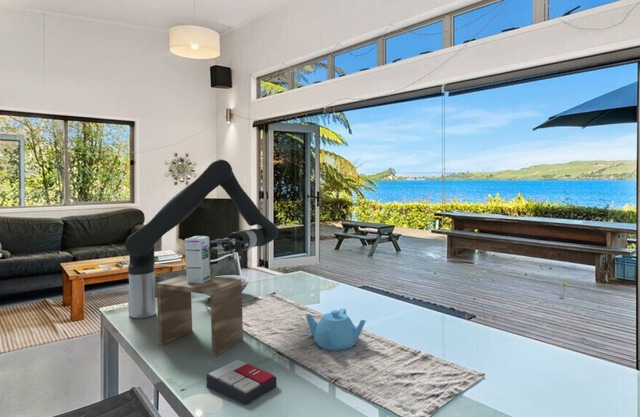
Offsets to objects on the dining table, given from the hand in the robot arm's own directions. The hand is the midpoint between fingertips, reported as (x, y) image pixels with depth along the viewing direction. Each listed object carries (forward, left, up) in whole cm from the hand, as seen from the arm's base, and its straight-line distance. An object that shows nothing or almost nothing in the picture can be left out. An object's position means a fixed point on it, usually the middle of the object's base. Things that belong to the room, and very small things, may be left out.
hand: (214, 247), depth 143 cm
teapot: (+41, +8, -30) cm, 52 cm away
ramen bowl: (-25, +37, -30) cm, 54 cm away
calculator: (+29, -27, -31) cm, 50 cm away
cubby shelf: (0, -8, -30) cm, 31 cm away
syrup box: (0, -8, -10) cm, 13 cm away
